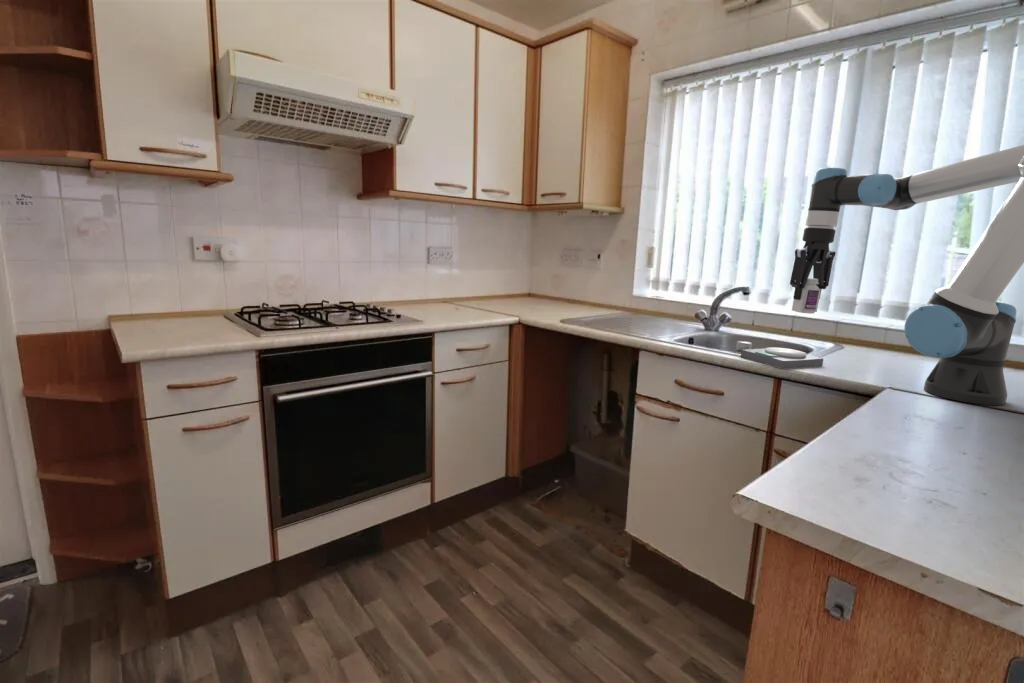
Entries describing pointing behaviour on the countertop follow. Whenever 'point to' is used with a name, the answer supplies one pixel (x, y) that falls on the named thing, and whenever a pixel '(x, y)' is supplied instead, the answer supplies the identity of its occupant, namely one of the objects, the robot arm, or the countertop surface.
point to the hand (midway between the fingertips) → (804, 311)
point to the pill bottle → (810, 296)
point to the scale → (782, 357)
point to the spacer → (743, 345)
